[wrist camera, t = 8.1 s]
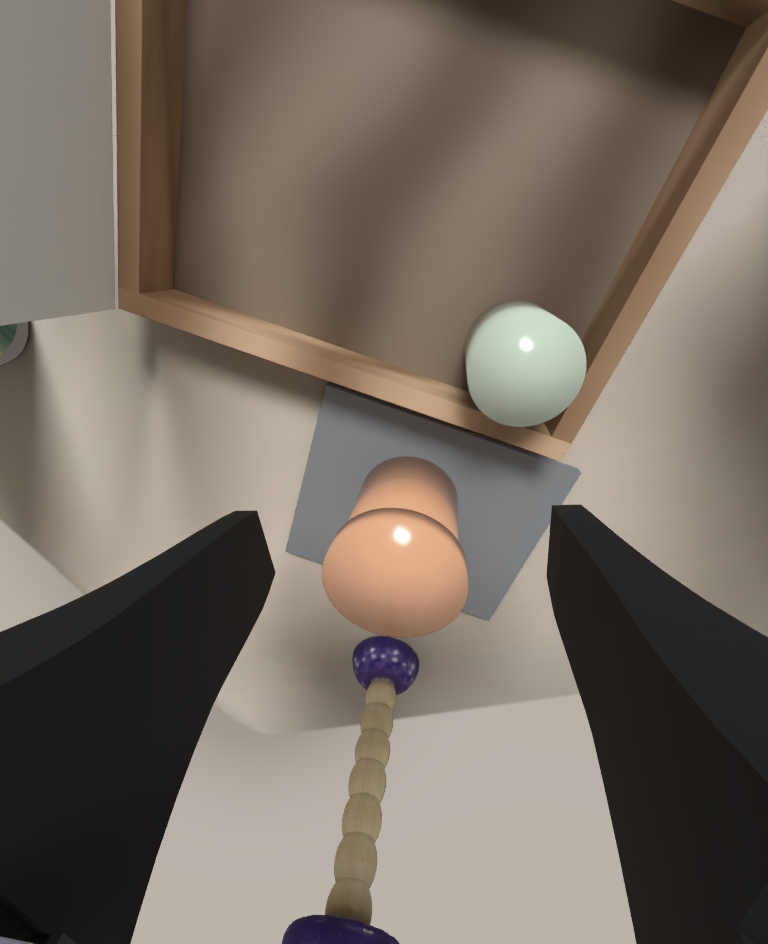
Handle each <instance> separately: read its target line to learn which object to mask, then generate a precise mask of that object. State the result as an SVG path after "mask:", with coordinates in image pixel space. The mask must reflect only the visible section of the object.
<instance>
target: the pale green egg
mask: <svg viewBox="0 0 768 944" xmlns="http://www.w3.org/2000/svg"><path fill="white" fill-rule="evenodd" d="M464 354H465V364H466V373H467V382H468V387H469V392H470V394H471V397H472V399H473V401H474V403H475V404H476V406H477V407H478V408H479V410H480V411H481V412H482V413H483V414H485V415H486V416H487V417H489V418H490V419H492V420H494V421H495V422H498V423H500V424H503V425H507V426H513V427H527V426H533V425H538V424H541V423H544V422H546V421H548V420H550V419H552V418H554V417H556V416H557V415H559V414H560V413H561V412H562V411H564V410H565V409H566V408H567V407H568V406H569V405H570V404H571V403H572V401H573V400H574V399H575V397H576V396H577V394H578V393H579V391H580V389H581V387H582V384H583V381H584V378H585V373H586V354H585V350H584V346H583V344H582V342H581V340H580V338H579V336H578V335H577V333H576V332H575V331H574V330H573V329H572V328H571V327H570V326H569V325H568V324H566V323H565V322H563V321H562V320H560V319H559V318H557V317H555V316H554V315H552V314H551V313H549V312H548V311H546V310H544V309H543V308H541V307H540V306H538V305H536V304H534V303H532V302H529V301H525V300H507V301H503V302H500V303H497V304H495V305H493V306H491V307H489V308H488V309H486V310H485V311H484V312H482V313H481V314H480V315H479V316H478V317H477V319H476V320H475V321H474V322H473V324H472V326H471V327H470V329H469V331H468V334H467V337H466V340H465V347H464Z"/></svg>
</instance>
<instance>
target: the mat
mask: <svg viewBox="0 0 768 944" xmlns="http://www.w3.org/2000/svg"><path fill="white" fill-rule="evenodd" d="M406 456H408V457H417V458H421V459H424V460H427V461H430V462H432V463H434V464H435V465H437V466H439V467H440V468H441V469H442V470H444V471H445V472H446V473H447V475H448V476H449V477H450V478H451V480H452V481H453V483H454V485H455V488H456V491H457V496H458V532H459V543H460V544H461V546H462V548H463V550H464V553H465V556H466V561H467V572H468V594H467V599H466V602H465V604H464V606H463V608H462V610H461V611H462V612H465V613H468V614H471V615H474V616H477V617H480V618H482V619H485V620H488V621H489V620H490V618H491V616H492V615H493V613H494V612H495V610H496V608H497V607H498V605H499V604H500V602H501V600H502V599H503V597H504V596H505V594H506V592H507V591H508V589H509V588H510V586H511V584H512V583H513V581H514V580H515V578H516V576H517V575H518V573H519V572H520V570H521V568H522V567H523V565H524V564H525V562H526V560H527V559H528V557H529V556H530V554H531V552H532V551H533V549H534V548H535V546H536V544H537V543H538V541H539V540H540V538H541V536H542V535H543V533H544V532H545V530H546V528H547V527H548V525H549V524H550V522H551V510H552V505H561V504H562V503H563V501H564V500H565V498H566V496H567V495H568V493H569V492H570V490H571V488H572V487H573V485H574V484H575V482H576V480H577V479H578V477H579V476H580V474H581V473H580V471H579V469H577V468H574V467H571V466H568V465H565V464H562V463H559V462H556V461H553V460H551V459H548V458H545V457H542V456H539V455H536V454H533V453H530V452H527V451H525V450H522V449H519V448H516V447H513V446H510V445H507V444H504V443H501V442H499V441H496V440H493V439H490V438H487V437H484V436H481V435H478V434H476V433H473V432H470V431H467V430H464V429H461V428H458V427H455V426H452V425H450V424H447V423H444V422H441V421H438V420H435V419H432V418H429V417H426V416H424V415H421V414H418V413H415V412H412V411H409V410H406V409H403V408H400V407H398V406H395V405H392V404H389V403H386V402H383V401H380V400H377V399H375V398H372V397H369V396H366V395H363V394H360V393H357V392H354V391H351V390H349V389H346V388H343V387H340V386H337V385H334V384H331V383H328V384H327V385H326V387H325V391H324V396H323V400H322V404H321V408H320V412H319V416H318V420H317V424H316V428H315V433H314V437H313V441H312V445H311V449H310V453H309V457H308V461H307V465H306V470H305V474H304V478H303V482H302V486H301V490H300V494H299V498H298V502H297V506H296V511H295V515H294V519H293V523H292V527H291V531H290V535H289V539H288V543H287V548H286V552H289V553H292V554H294V555H297V556H300V557H303V558H306V559H309V560H312V561H315V562H318V563H321V564H323V562H324V559H325V556H326V554H327V552H328V549H329V547H330V544H331V542H332V540H333V538H334V536H335V534H336V533H337V531H338V530H339V529H340V528H341V527H342V526H343V525H344V524H345V523H346V522H347V521H348V520H349V517H350V515H351V512H352V510H353V507H354V505H355V502H356V500H357V497H358V494H359V492H360V489H361V487H362V484H363V482H364V480H365V478H366V476H367V475H368V473H369V472H370V471H371V470H372V469H373V468H374V467H376V466H377V465H378V464H380V463H382V462H384V461H386V460H388V459H392V458H396V457H406Z"/></svg>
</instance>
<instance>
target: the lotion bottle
mask: <svg viewBox="0 0 768 944" xmlns="http://www.w3.org/2000/svg"><path fill="white" fill-rule="evenodd" d="M27 338H28V322H23V323H16V324H9V325H2V326H0V365H1V364H4V363H6V362H9V361H11V360H13V359H14V358H16V357H17V356H18V355H19V354H20V353H21V352H22V350H23V349H24V347H25V344H26V342H27Z"/></svg>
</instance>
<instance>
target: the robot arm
mask: <svg viewBox="0 0 768 944" xmlns="http://www.w3.org/2000/svg"><path fill="white" fill-rule="evenodd" d="M274 576H275V570H274V567H273V563H272V560H271V556H270V553H269V550H268V546H267V543H266V540H265V536H264V533H263V529H262V526H261V523H260V519H259V516H258V513H257V511H235V512H232V513H230V514H228V515H226V516H224V517H222V518H220V519H219V520H217V521H215V522H213V523H212V524H210V525H208V526H206V527H205V528H203V529H201V530H200V531H198V532H196V533H195V534H193V535H191V536H190V537H188V538H186V539H185V540H183V541H181V542H180V543H178V544H176V545H175V546H173V547H171V548H170V549H168V550H167V551H165V552H163V553H162V554H160V555H158V556H156V557H155V558H153V559H151V560H149V561H147V562H146V563H144V564H142V565H140V566H139V567H137V568H135V569H133V570H132V571H130V572H128V573H126V574H124V575H123V576H121V577H119V578H117V579H116V580H114V581H112V582H110V583H108V584H106V585H104V586H102V587H100V588H98V589H96V590H94V591H92V592H90V593H88V594H86V595H84V596H82V597H80V598H78V599H76V600H74V601H71V602H69V603H67V604H65V605H63V606H61V607H59V608H56V609H54V610H52V611H50V612H47V613H45V614H42V615H40V616H38V617H35V618H33V619H30V620H28V621H26V622H23V623H21V624H18V625H16V626H14V627H11V628H9V629H7V630H5V631H2V632H0V944H130V943H131V939H132V936H133V932H134V929H135V925H136V922H137V918H138V915H139V912H140V909H141V905H142V902H143V899H144V896H145V892H146V889H147V886H148V883H149V879H150V876H151V873H152V870H153V866H154V863H155V860H156V856H157V853H158V851H159V848H160V845H161V842H162V839H163V836H164V833H165V830H166V827H167V824H168V821H169V818H170V815H171V813H172V810H173V807H174V803H175V801H176V798H177V795H178V793H179V790H180V787H181V784H182V782H183V779H184V777H185V774H186V771H187V769H188V766H189V763H190V761H191V758H192V755H193V753H194V750H195V748H196V745H197V742H198V740H199V738H200V735H201V733H202V730H203V728H204V725H205V723H206V721H207V718H208V716H209V713H210V711H211V708H212V706H213V704H214V702H215V700H216V698H217V696H218V694H219V692H220V689H221V687H222V685H223V684H224V682H225V680H226V678H227V676H228V674H229V672H230V670H231V668H232V667H233V665H234V663H235V661H236V659H237V657H238V655H239V653H240V651H241V650H242V648H243V646H244V644H245V642H246V640H247V638H248V636H249V634H250V632H251V630H252V629H253V627H254V625H255V623H256V621H257V619H258V617H259V615H260V613H261V611H262V609H263V607H264V604H265V601H266V599H267V596H268V593H269V591H270V588H271V585H272V582H273V579H274ZM547 580H548V586H549V591H550V597H551V602H552V607H553V612H554V616H555V619H556V623H557V626H558V629H559V632H560V635H561V638H562V641H563V644H564V647H565V650H566V653H567V656H568V659H569V663H570V666H571V669H572V672H573V675H574V678H575V681H576V684H577V687H578V690H579V693H580V696H581V699H582V702H583V705H584V708H585V711H586V714H587V718H588V721H589V725H590V728H591V732H592V735H593V739H594V744H595V748H596V752H597V757H598V761H599V765H600V769H601V774H602V779H603V783H604V787H605V792H606V796H607V801H608V806H609V811H610V815H611V820H612V825H613V829H614V834H615V838H616V843H617V847H618V853H619V858H620V862H621V867H622V873H623V877H624V883H625V888H626V892H627V897H628V902H629V907H630V912H631V917H632V922H633V927H634V932H635V938H636V943H637V944H768V637H766V636H764V635H763V634H761V633H759V632H757V631H756V630H754V629H752V628H750V627H749V626H747V625H746V624H744V623H742V622H741V621H739V620H737V619H736V618H734V617H732V616H731V615H729V614H727V613H726V612H724V611H722V610H721V609H719V608H717V607H716V606H714V605H713V604H711V603H710V602H708V601H706V600H705V599H703V598H702V597H700V596H699V595H697V594H696V593H694V592H693V591H691V590H690V589H688V588H687V587H686V586H684V585H683V584H681V583H680V582H678V581H677V580H676V579H674V578H673V577H671V576H670V575H668V574H667V573H666V572H664V571H663V570H662V569H660V568H659V567H657V566H656V565H655V564H653V563H652V562H651V561H649V560H648V559H647V558H645V557H644V556H643V555H642V554H640V553H639V552H638V551H636V550H635V549H634V548H633V547H631V546H630V545H629V544H628V543H626V542H625V541H624V540H623V539H622V538H620V537H619V536H618V535H617V534H615V533H614V532H613V531H612V530H611V529H609V528H608V527H607V526H606V525H605V524H603V523H602V522H601V521H600V520H599V519H598V518H596V517H595V516H594V515H593V514H592V513H590V512H589V511H588V510H587V509H586V508H584V507H583V506H582V505H552V510H551V523H550V537H549V551H548V565H547Z"/></svg>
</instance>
